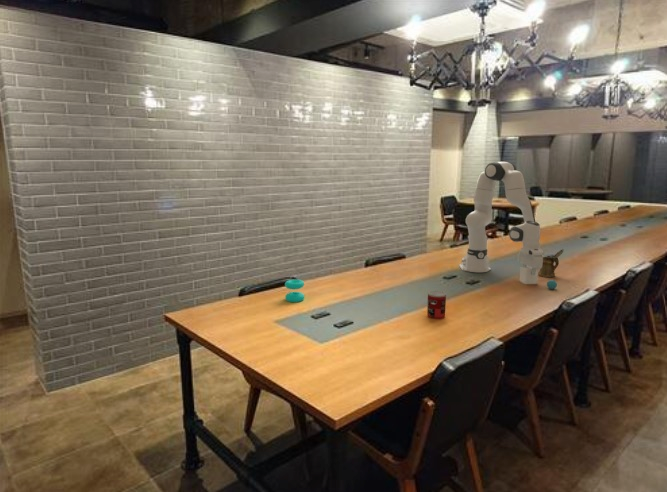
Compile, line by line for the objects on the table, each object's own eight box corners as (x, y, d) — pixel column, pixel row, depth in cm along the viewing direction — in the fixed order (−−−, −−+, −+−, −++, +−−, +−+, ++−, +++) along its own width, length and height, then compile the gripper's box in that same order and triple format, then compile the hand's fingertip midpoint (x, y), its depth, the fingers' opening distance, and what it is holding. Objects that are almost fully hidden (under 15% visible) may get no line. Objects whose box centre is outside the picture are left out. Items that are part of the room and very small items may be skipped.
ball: (544, 287, 245) (545, 279, 244) (553, 287, 245) (554, 278, 244) (549, 290, 240) (550, 281, 239) (558, 290, 240) (559, 281, 239)
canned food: (425, 313, 205) (425, 291, 203) (441, 313, 206) (442, 290, 204) (430, 319, 198) (430, 296, 196) (447, 318, 199) (448, 295, 196)
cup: (519, 281, 259) (520, 266, 257) (530, 280, 259) (532, 266, 258) (525, 284, 252) (526, 269, 250) (537, 284, 253) (538, 269, 251)
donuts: (292, 277, 234) (307, 280, 228) (293, 295, 236) (308, 298, 230) (280, 282, 225) (296, 284, 220) (281, 300, 227) (296, 304, 222)
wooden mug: (556, 279, 261) (559, 250, 258) (535, 275, 272) (537, 246, 269) (564, 277, 266) (567, 248, 263) (543, 273, 277) (545, 245, 274)
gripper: (516, 246, 262) (515, 269, 265) (534, 253, 242) (532, 277, 245) (526, 246, 263) (525, 268, 265) (545, 253, 243) (543, 277, 245)
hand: (529, 273), depth 255 cm, fingers closed on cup, 7 cm apart
